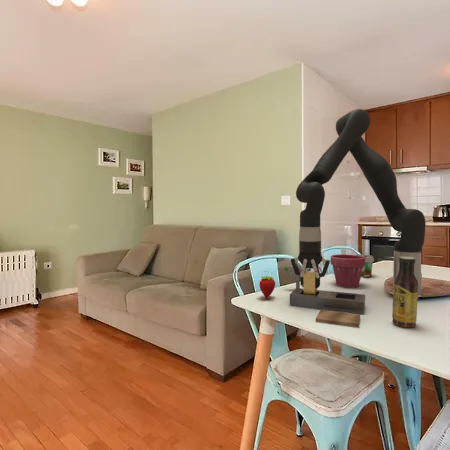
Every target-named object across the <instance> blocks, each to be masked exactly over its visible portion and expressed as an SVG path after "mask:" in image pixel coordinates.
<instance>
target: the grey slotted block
mask: <svg viewBox="0 0 450 450" xmlns="http://www.w3.org/2000/svg"><path fill="white" fill-rule="evenodd" d="M289 306H290V307H297V308H305V309H306V308H307V309H312V308H313V309H314V310H326V311H335V312H343V313H351V314H360V315H365V309H366V294H362V293H353V292H341V291H340V292H339V291H332V290H322V289H320V290H319V289H317V296H314V295H304V294H303V287H300V288H296V287H295V288H294V290H292V291H291V293H289Z"/></svg>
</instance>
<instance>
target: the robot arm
mask: <svg viewBox="0 0 450 450" xmlns="http://www.w3.org/2000/svg"><path fill="white" fill-rule="evenodd" d="M370 125H371V117H370V114H369V113H368V112H367V111H366V110H365V109H361V108H356V109H353V110H351V111H349V112H347V113H346V114H344V115H342V116H341V117H339V119H337V121H336V122H335V131H336V134H337V135H338V137H337V138H336V140H335V141H334V142H333V143H332V144H331V145H330V146H329V148H327V149H326V151H325V152H324V153H323V154H322V155H321V157H320V158H319V159H318V161H317V162H316V164H315V165H314V167H313V169H312V170H311V171H310V173H308V174H307V175H306V177H305V178H303V179H302V180H301V181H300V183H299V184H298V185H297V188H296V191H295V198H296V199H297V201H299V202H301V203H302V204H303V203H304V204H306V205H305V209H303V210H301V211H300V213H299V233H298V245H299V246H298V248H299V249H298V251H299V252H298V256H297V257H292V258H291V259H290V263H291V266H293V269H292V270H293V271H294V272H295V274H296V275H299V276H300V286H301V288H303V273H304V272H306V269H307V268H311V270H312V269H313V272H315V276H316V289H317V290H319V289H318V288H320V286H321V278H323V277H325V276H326V275H327V272H328V269H329V266H330V265H331V259H326V258H323V255H322V230H321V214H322V210H323V206H324V203H325V202H324V201H325V196H326V193H325V192H326V191H325V188H324V186H323V185H324V184H326V183H328V182H329V181H330V180H331V179H332V177H333V176H334V174H335V173H336V171H337V170H338V168H339V166H340V165H341V164H342V162H343V160H344V159H345V157H346V156H347V154H348V153H350V154H351V155H352V157H353V158H354V160H355V162H356V163H357V165H358V167H359V169H360V170H361V171H362V173H363V175H364V177H365V179H366V181H367V182H368V184H369V186H370V187H371V189H372V190H373V193H374V194H375V195H376V199H378V201H379V203H380V205H381V206H382V209H383V210H384V213H385V215H386V218H387V219H388V222H389V224H390V226H391V227H392V229H393V230H395V232H398V233H400V239H398V241H396V242H395V243H394V244H393V268H392V269H393V271H392V272H393V275H392V277H393V278H392V279H393V280H392V289H393V288H394V282H395V280H396V277H397V275H398V272H399V265H400V263H399V257H403V256H404V257H413V258H415V264H414V275H415V277H416V279H417V281H418V295H421V296H422V289H423V288H422V287H423V286H422V283H423V281H422V280H423V277H422V276H423V273H422V249H423V247H424V246H423V245H425V237H426V225H427V224H426V223H427V222H426V216H425V215H424V213H423V212H422V211H420V209H415V208H407V207H406V206H405V204H403V203H404V202H402V200H401V198H400V196H399V193H398V181H397V180H398V179H397V177H396V174H395V172H394V169H393V168H392V166H391V164H390V163H389V161H388V160H387V158H385V157H384V156H383V155H381V153H378V152H377V151H376V150H374V149H373V148H371V147H370V146H369V145H368V144H367V143H366V141H365V139H364V138H363V136H364V134H365V133H366V132H367V131H368V129H369V128H370ZM298 263H300V264H301V265H302V266H301V272H300V271H299V268H298V266H299V265H298ZM321 263H322V265H323V268H322V271H321V272H320V267H319V265H320V264H321Z"/></svg>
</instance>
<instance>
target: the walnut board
mask: <svg viewBox="0 0 450 450" xmlns="http://www.w3.org/2000/svg"><path fill="white" fill-rule="evenodd" d="M360 320H361V314H354V313H346V312H337V311H329V310H321V309H319V312H318V313H317V315H316V317H315V322H316V323H322V324H323V323H324V324H328V325H335V326H337V325H338V326H345V327H351V328H352V327H353V328H359V327H360Z"/></svg>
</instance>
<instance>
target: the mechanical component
mask: <svg viewBox="0 0 450 450" xmlns="http://www.w3.org/2000/svg"><path fill="white" fill-rule="evenodd" d="M298 268H299V271H300V272H301V269H302V266H300V265H298ZM284 270H285V271H287V275H288V276H289V277H294V280H295V289H296V288H301V287H300V286H301V284H300V283H301V282H300V276H299V275H296V274H295V272H294V269H293V266H292V265H287V266H285V267H284ZM291 270H293V271H291ZM306 271H308V272H312V268H307V269H306Z"/></svg>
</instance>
